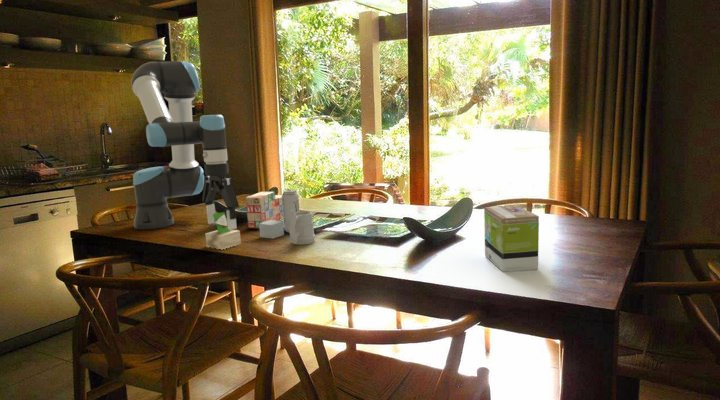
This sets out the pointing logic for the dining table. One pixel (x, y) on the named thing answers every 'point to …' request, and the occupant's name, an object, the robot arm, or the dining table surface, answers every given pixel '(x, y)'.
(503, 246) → the tea box
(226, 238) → the beech block
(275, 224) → the grey block
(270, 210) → the stack of blocks
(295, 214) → the mug
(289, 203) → the energy drink can
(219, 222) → the geometric puzzle
